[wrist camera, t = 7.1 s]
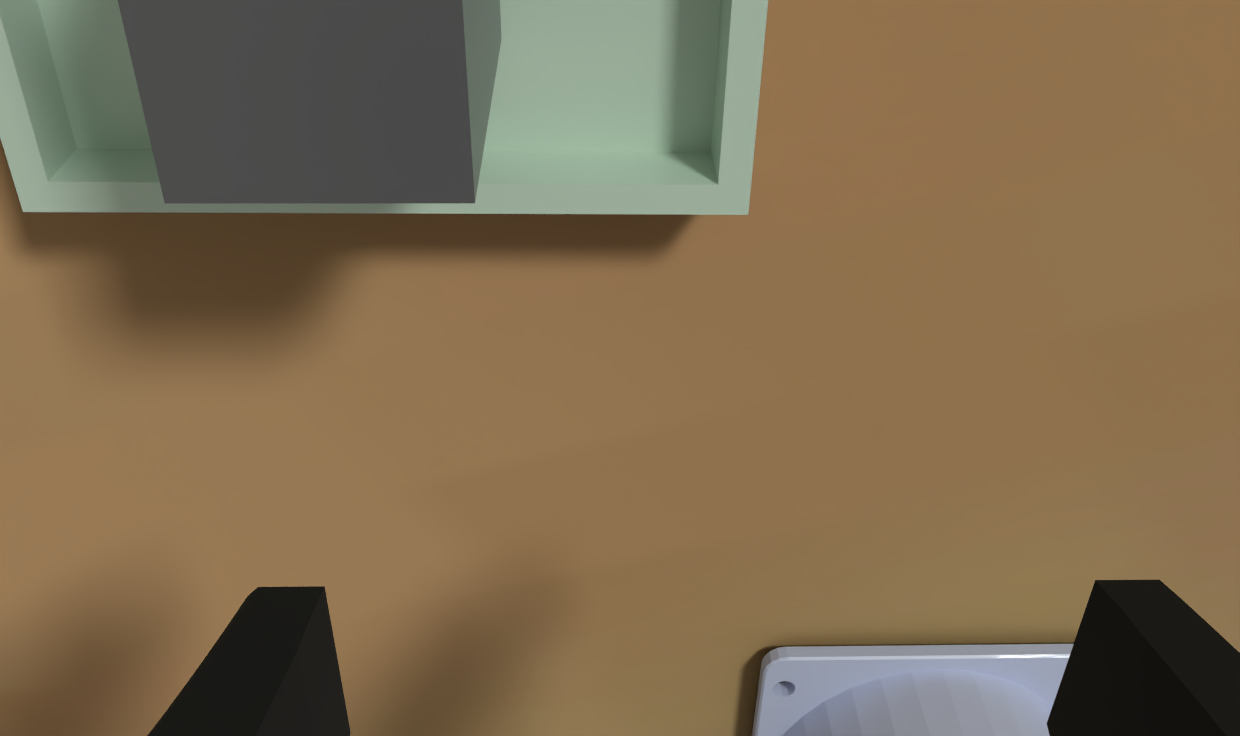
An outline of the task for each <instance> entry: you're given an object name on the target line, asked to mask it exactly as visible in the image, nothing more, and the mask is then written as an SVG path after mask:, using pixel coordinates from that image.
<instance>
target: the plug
mask: <svg viewBox="0 0 1240 736" xmlns="http://www.w3.org/2000/svg"><path fill="white" fill-rule="evenodd" d="M118 4H119V8H120V13H121V17H122V21H123V26H124V30H125V34H126V39H127V43H128V47H129V52H130V56H131V60H132V65H133V69H134V73H135V77H136V82H137V86H138V90H139V95H140V99H141V103H142V108H143V112H144V116H145V121H146V125H147V129H148V134H149V138H150V142H151V146H152V151H153V155H154V159H155V164H156V168H157V172H158V177H159V181H160V185H161V190H162V194H163V198H164V203H475V200H476V194H477V188H478V182H479V175H480V169H481V163H482V157H483V151H484V144H485V138H486V132H487V126H488V120H489V113H490V107H491V101H492V95H493V89H494V83H495V76H496V70H497V64H498V58H499V52H500V45H501V16H500V0H118Z"/></svg>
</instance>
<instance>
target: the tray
mask: <svg viewBox="0 0 1240 736" xmlns="http://www.w3.org/2000/svg"><path fill="white" fill-rule="evenodd" d="M767 7H768V0H500V16H501V45H500V52H499V58H498V64H497V70H496V76H495V83H494V89H493V95H492V101H491V107H490V113H489V120H488V126H487V132H486V138H485V144H484V151H483V157H482V163H481V169H480V175H479V182H478V188H477V194H476V200H475V203H164V198H163V194H162V190H161V185H160V181H159V177H158V172H157V168H156V164H155V159H154V155H153V151H152V146H151V142H150V138H149V134H148V129H147V125H146V121H145V116H144V112H143V108H142V103H141V99H140V95H139V90H138V86H137V82H136V77H135V73H134V69H133V65H132V60H131V56H130V52H129V47H128V43H127V39H126V34H125V30H124V26H123V21H122V17H121V13H120V8H119V4H118V0H0V138H1V142H2V145H3V148H4V152H5V155H6V158H7V161H8V165H9V168H10V171H11V174H12V178H13V181H14V184H15V188H16V191H17V194H18V197H19V201H20V204H21V207H22V210H23V212H145V213H419V214H692V215H748V212H749V201H750V190H751V179H752V168H753V158H754V147H755V136H756V125H757V115H758V104H759V93H760V82H761V71H762V61H763V50H764V39H765V28H766V17H767Z"/></svg>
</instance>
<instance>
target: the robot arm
mask: <svg viewBox="0 0 1240 736" xmlns="http://www.w3.org/2000/svg"><path fill="white" fill-rule="evenodd" d="M783 681H787V682H783ZM778 682H783V683H778ZM148 736H350V727H349V722H348V716H347V711H346V705H345V699H344V694H343V688H342V682H341V677H340V671H339V666H338V660H337V654H336V649H335V643H334V637H333V632H332V626H331V621H330V615H329V609H328V604H327V598H326V592H325V587H258V588H257V589H255V590H254V591H253V592H252V593H251V594H250V595H249V596H247V598H246V599H245V601H244V602H243V604H242V605H241V607H240V608H239V610H238V611H237V613H236V614H235V616H234V617H233V619H232V620H231V622H230V623H229V624H228V626H227V627H226V629H225V630H224V632H223V633H222V635H221V636H220V637H219V639H218V640H217V642H216V643H215V645H214V646H213V647H212V649H211V650H210V652H209V653H208V655H207V656H206V657H205V659H204V660H203V662H202V663H201V664H200V666H199V667H198V669H197V670H196V671H195V673H194V674H193V676H192V677H191V678H190V680H189V681H188V682H187V684H186V685H185V686H184V688H183V689H182V691H181V692H180V693H179V695H178V696H177V697H176V699H175V700H174V701H173V703H172V704H171V706H170V707H169V708H168V710H167V711H166V712H165V714H164V715H163V716H162V718H161V719H160V720H159V721H158V723H157V724H156V725H155V727H154V728H153V729H152V730H151V732H150V733H149V734H148ZM752 736H1240V653H1239V652H1238V651H1237V650H1236V649H1235V648H1234V647H1233V646H1232V645H1231V644H1229V643H1228V642H1227V641H1226V640H1225V639H1224V638H1223V637H1222V636H1221V635H1220V634H1219V633H1218V632H1217V631H1215V630H1214V629H1213V628H1212V627H1211V626H1210V625H1209V624H1208V623H1207V622H1206V621H1205V620H1204V619H1202V618H1201V617H1200V616H1199V615H1198V614H1197V613H1196V612H1195V611H1194V610H1193V609H1192V608H1191V607H1189V606H1188V605H1187V604H1186V603H1185V602H1184V601H1183V600H1182V599H1181V598H1180V597H1178V596H1177V595H1176V594H1175V593H1174V592H1173V591H1172V590H1170V589H1169V588H1168V587H1167V586H1166V585H1165V584H1164V583H1163V582H1161V581H1160V580H1095V583H1094V586H1093V589H1092V592H1091V595H1090V598H1089V601H1088V604H1087V607H1086V609H1085V612H1084V615H1083V618H1082V621H1081V624H1080V627H1079V630H1078V633H1077V636H1076V639H1075V642H1074V644H986V645H890V646H795V647H779V648H776V649H774V650H771V651H769V652H768V653H767V654H766V655H765V656H764V658H763V660H762V663H761V670H760V678H759V685H758V693H757V700H756V708H755V716H754V723H753V731H752Z"/></svg>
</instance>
